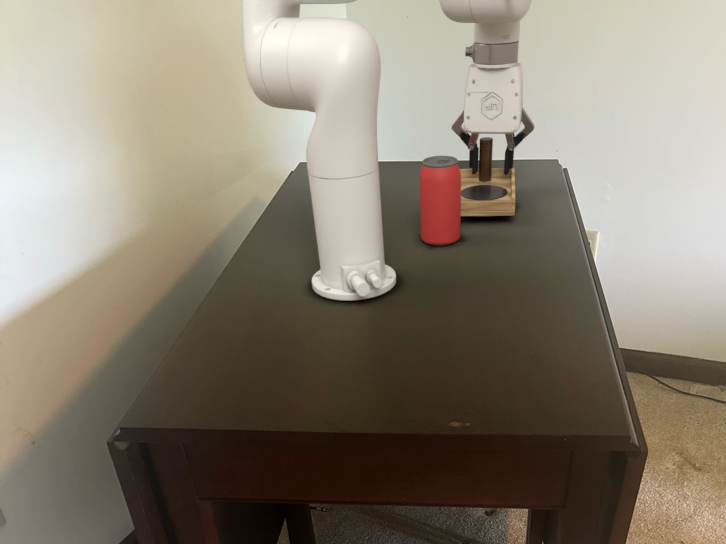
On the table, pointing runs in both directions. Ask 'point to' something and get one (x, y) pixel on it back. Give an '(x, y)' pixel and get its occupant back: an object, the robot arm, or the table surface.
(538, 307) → the table surface
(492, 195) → the tray
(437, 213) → the beer can
